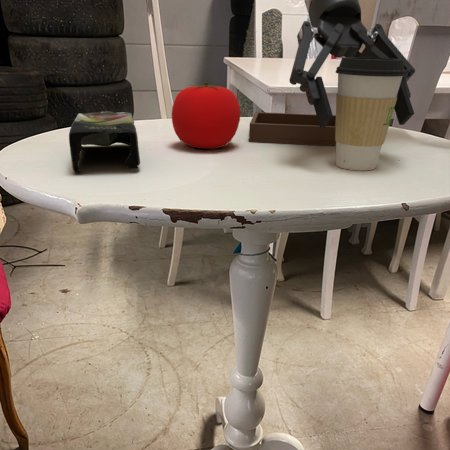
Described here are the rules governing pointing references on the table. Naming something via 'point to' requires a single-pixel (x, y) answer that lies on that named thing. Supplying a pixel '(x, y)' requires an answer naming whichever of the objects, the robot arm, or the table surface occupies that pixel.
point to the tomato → (205, 116)
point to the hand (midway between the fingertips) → (367, 120)
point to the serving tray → (291, 129)
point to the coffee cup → (364, 108)
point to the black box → (104, 134)
